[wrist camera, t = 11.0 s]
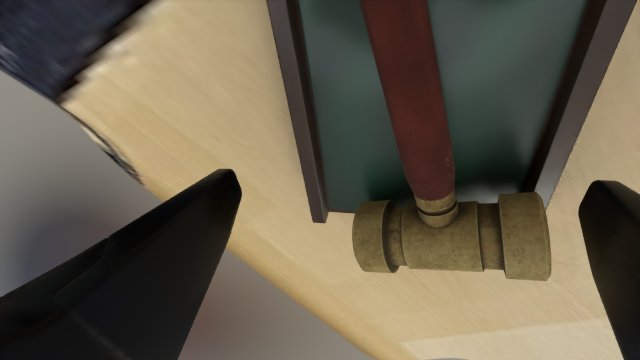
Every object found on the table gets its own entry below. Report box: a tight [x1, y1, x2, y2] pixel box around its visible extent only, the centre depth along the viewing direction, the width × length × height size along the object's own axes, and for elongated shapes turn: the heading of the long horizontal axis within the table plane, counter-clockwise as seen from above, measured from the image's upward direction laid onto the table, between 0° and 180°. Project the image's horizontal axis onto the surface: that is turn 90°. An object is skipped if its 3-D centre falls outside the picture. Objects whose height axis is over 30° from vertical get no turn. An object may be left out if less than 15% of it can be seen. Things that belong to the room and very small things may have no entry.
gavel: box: [352, 0, 551, 281], centre depth 16 cm, size 21×5×10 cm
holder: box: [266, 0, 637, 223], centre depth 17 cm, size 14×20×2 cm
